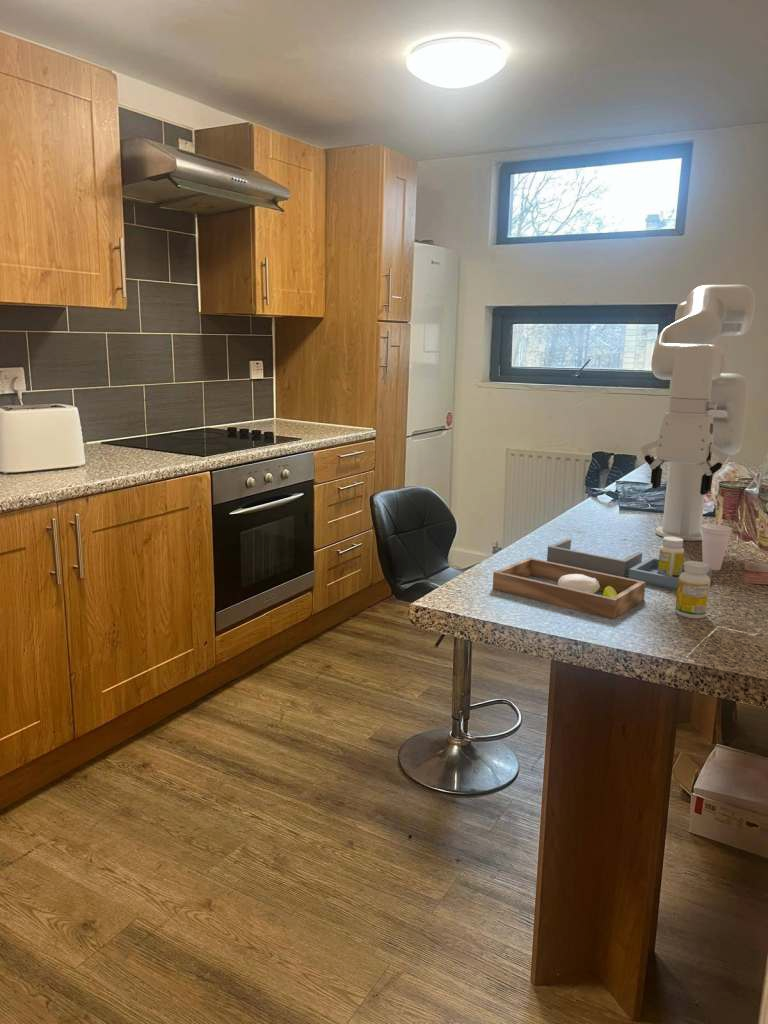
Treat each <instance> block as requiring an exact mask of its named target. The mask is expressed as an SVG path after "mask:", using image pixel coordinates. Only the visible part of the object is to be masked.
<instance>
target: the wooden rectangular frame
mask: <svg viewBox="0 0 768 1024" xmlns="http://www.w3.org/2000/svg"><path fill="white" fill-rule="evenodd" d="M568 574H582V575H585V576H588V577H591V578H596V580H597V581H598V582H599V585H600V588H599V589H598V590H597V592H598V591H599V592H604V590H605V588H606V587H608V586H611V587H612V588H614V590H615V591H616V593H617V595H616V596H615V597H613V598H611V597H606V596H603V595H598V594H597V593H589V592H585V591H580V590H576V589H572V588H567V587H563V586H558V584H553V583H550V582H545V581H540V580H537V579H536V580H535V579H532V578H528V577H529V576H532V577H537V578H541V579H545V580H546V579H547V580H549V581H554V582H558V580H559V579H560V577H562V576H564V575H568ZM492 575H493V577H492V590H495V591H499V592H501V593H502V592H503V593H505V594H507V593H508V594H510V595H515V596H519V597H523V598H526V599H531V600H535V601H538V602H539V601H540V602H544V603H548V604H550V605H551V604H552V605H555V606H560V607H564V608H567V609H572V610H576V611H580V612H584V613H587V614H592V615H596V616H600V617H603V618H608V619H612V620H614V619H616V618H618V617H619V616H620V615H622V614H624V613H625V612H627V611H629V610H630V609H631V608H633V607H634V606H637V605H638V604H640V602H642V601H644V600H645V595H646V594H645V593H646V585H647V584H646V582H644V581H639V580H634V579H629V578H628V577H620V576H615V575H610V574H605V573H601V572H596V571H591V570H586V569H582V568H577V567H572V566H567V565H562V564H558V563H553V562H548V561H547V560H543V559H538V558H534V557H528V558H525V559H522V560H521V561H518V562H516V563H513V564H510V565H508V566H505V567H503V568H500V569H498V570H495V571H493V573H492ZM619 593H620V594H619ZM637 603H638V604H637ZM636 604H637V605H636Z"/></svg>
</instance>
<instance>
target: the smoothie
mask: <svg viewBox="0 0 768 1024" xmlns="http://www.w3.org/2000/svg"><path fill="white" fill-rule="evenodd" d="M723 511H724V508H723V507H719V515H718V523H703V524H702V525H701V531H702V540H701V550H702V551H701V553H702V555H701V557H702V559H701V560H702V561H701V562H702V563H706V564H707V565H708V568H711V569H712V571H720V570H721V568H722V565H723V561H724V558H725V553H726V549H727V546H728V542H729V539H730V535H731V534H732V531H733V528H732V527H730V526H728V525H725V524H724V525H723V524H722V518H723Z"/></svg>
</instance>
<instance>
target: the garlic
mask: <svg viewBox="0 0 768 1024" xmlns="http://www.w3.org/2000/svg"><path fill="white" fill-rule="evenodd" d="M557 585H558V586H563V587H567V588H572V589H576V590H580V591H585V592H589V593H593V594H596V592H598V589H599V588H600V585H599V582H598V581H597V580H596V578H591V577H588V576H585V575H582V574H568V575H564V576H562V577H560V579H559V580H558V581H557Z"/></svg>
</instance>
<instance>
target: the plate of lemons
mask: <svg viewBox="0 0 768 1024" xmlns="http://www.w3.org/2000/svg"><path fill="white" fill-rule="evenodd" d="M602 592H603V591H602ZM619 594H620V593H619ZM598 595H602V596H606V597H611V598H613V597H615V596H616V595H617V593H616V591H615V590H614V588H612V587H611V586H608V587H606V588H605V590H604V592H603V593H599V594H598ZM638 604H639V603H637V604H636V605H635V606H637V605H638Z"/></svg>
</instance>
